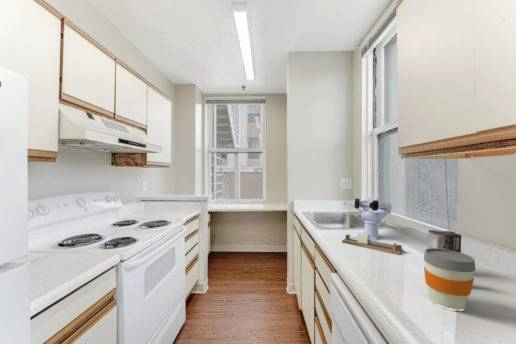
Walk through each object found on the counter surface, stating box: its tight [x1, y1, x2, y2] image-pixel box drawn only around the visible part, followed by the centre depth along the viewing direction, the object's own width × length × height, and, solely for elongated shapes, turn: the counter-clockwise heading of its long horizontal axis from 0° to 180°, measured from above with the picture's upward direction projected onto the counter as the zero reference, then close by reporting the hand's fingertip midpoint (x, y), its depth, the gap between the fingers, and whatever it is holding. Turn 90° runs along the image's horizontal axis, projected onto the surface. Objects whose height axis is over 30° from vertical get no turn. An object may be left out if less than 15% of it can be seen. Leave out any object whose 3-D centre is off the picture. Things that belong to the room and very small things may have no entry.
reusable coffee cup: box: [423, 248, 476, 310], centre depth 76 cm, size 13×13×15 cm
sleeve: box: [357, 232, 371, 244], centre depth 133 cm, size 4×5×4 cm
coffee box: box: [427, 229, 462, 253], centre depth 100 cm, size 9×6×16 cm
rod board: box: [341, 234, 404, 256], centre depth 131 cm, size 9×28×4 cm, turn 51°
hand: (362, 204), depth 133 cm, fingers open, 7 cm apart
